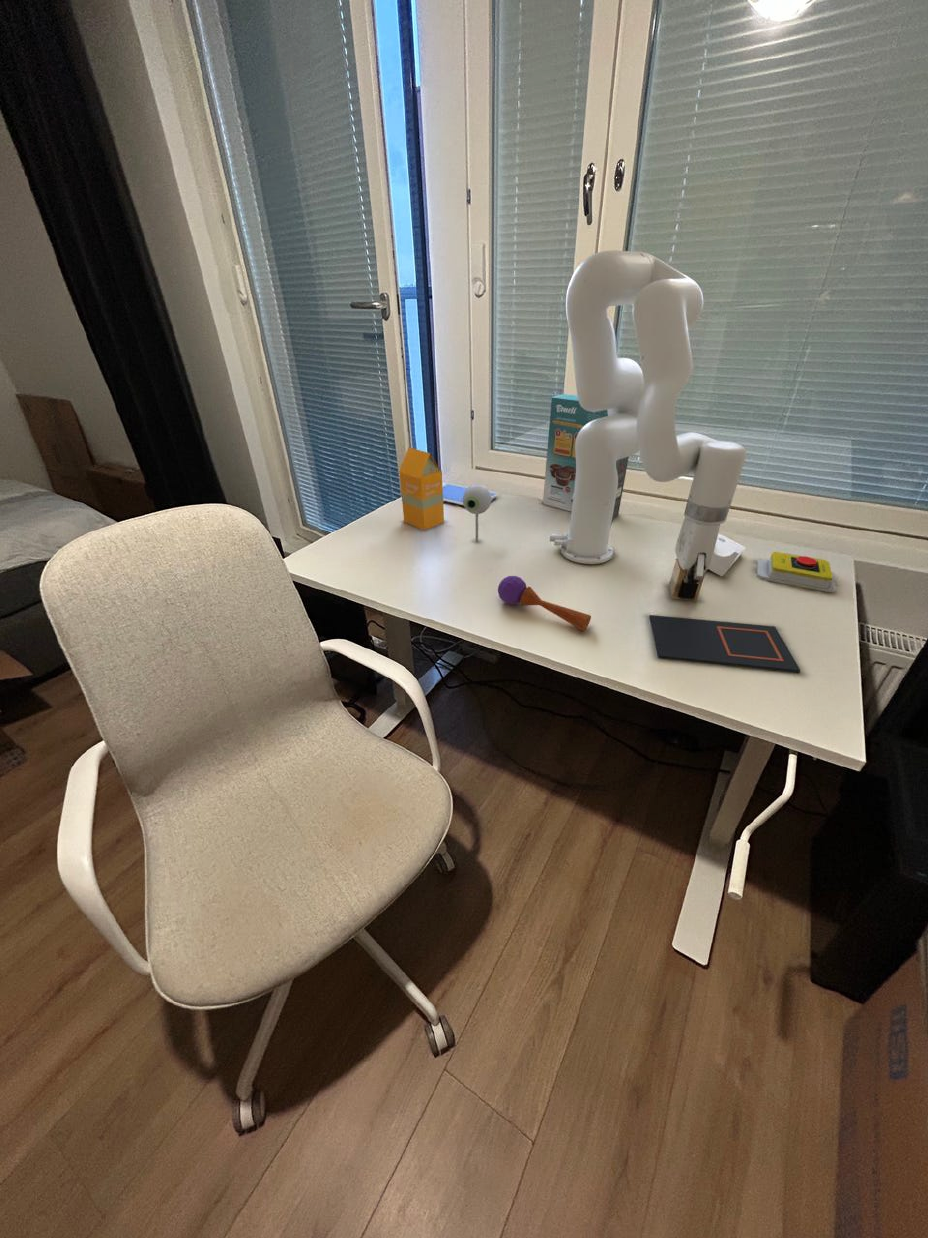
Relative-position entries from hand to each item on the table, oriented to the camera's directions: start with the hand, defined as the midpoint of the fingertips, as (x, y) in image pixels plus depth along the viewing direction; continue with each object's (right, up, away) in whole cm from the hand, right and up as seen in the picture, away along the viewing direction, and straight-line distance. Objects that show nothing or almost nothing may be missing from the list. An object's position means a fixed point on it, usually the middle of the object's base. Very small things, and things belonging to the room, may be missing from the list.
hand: (683, 589), depth 102 cm
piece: (0, -1, +1) cm, 1 cm away
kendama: (-31, -5, -5) cm, 32 cm away
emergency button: (+28, +3, +6) cm, 29 cm away
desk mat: (0, -11, -14) cm, 17 cm away
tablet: (-48, +32, +49) cm, 75 cm away
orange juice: (-58, +21, +34) cm, 71 cm away
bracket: (+14, +7, +12) cm, 19 cm away
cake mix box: (-13, +26, +40) cm, 49 cm away
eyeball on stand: (-44, +14, +23) cm, 51 cm away
